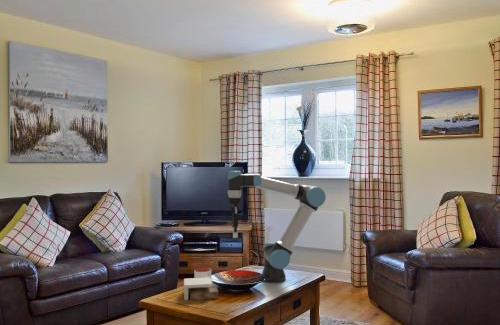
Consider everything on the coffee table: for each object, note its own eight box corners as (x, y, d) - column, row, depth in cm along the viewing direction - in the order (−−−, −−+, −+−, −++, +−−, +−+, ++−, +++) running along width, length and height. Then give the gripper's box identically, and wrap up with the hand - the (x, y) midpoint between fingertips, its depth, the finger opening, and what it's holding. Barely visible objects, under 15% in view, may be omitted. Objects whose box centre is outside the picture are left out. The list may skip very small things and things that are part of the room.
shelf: (210, 291, 264) (210, 277, 264) (212, 298, 250) (212, 283, 250) (184, 292, 262) (184, 278, 262) (184, 300, 248) (184, 285, 248)
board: (216, 294, 260) (216, 286, 260) (218, 298, 251) (218, 291, 251) (189, 295, 257) (189, 288, 257) (190, 300, 248) (190, 293, 248)
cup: (210, 289, 268) (210, 272, 268) (193, 289, 269) (193, 272, 269) (212, 284, 278) (212, 268, 278) (195, 284, 279) (195, 268, 279)
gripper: (227, 196, 276) (227, 236, 276) (229, 198, 263) (230, 239, 263) (239, 196, 277) (240, 235, 277) (242, 198, 264) (243, 239, 264)
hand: (235, 237), depth 270 cm, fingers closed
